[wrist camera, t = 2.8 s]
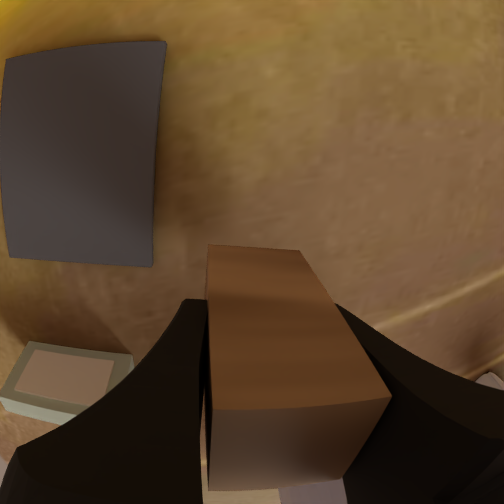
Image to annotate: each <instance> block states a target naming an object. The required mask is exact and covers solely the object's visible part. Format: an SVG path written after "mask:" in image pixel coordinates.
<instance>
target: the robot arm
mask: <svg viewBox="0 0 504 504" xmlns="http://www.w3.org/2000/svg"><path fill="white" fill-rule="evenodd" d="M334 304H335V305H336V307H337V308H338V310H339V311H340V313H341V314H342V316H343V318H344V319H345V321H346V322H347V324H348V325H349V327H350V329H351V330H352V332H353V333H354V335H355V336H356V338H357V340H358V341H359V343H360V344H361V346H362V348H363V349H364V351H365V352H366V354H367V356H368V357H369V359H370V360H371V362H372V364H373V365H374V367H375V369H376V370H377V372H378V373H379V375H380V377H381V378H382V380H383V382H384V383H385V385H386V387H387V388H388V390H389V392H390V393H391V395H392V398H391V399H390V401H389V403H388V405H387V407H386V409H385V410H384V412H383V414H382V416H381V417H380V419H379V421H378V422H377V424H376V426H375V427H374V429H373V431H372V432H371V434H370V436H369V437H368V439H367V440H366V442H365V444H364V445H363V447H362V448H361V450H360V451H359V453H358V454H357V456H356V457H355V459H354V460H353V462H352V463H351V465H350V466H349V468H348V469H347V471H346V472H345V474H344V475H343V476H342V478H341V479H339V480H333V481H327V482H321V483H315V484H308V485H301V486H293V487H284V488H278V491H279V496H280V500H281V504H504V390H500V389H497V388H493V387H489V386H486V385H482V384H479V383H476V382H473V381H470V380H468V379H465V378H463V377H460V376H457V375H455V374H452V373H450V372H448V371H445V370H443V369H441V368H439V367H437V366H435V365H433V364H431V363H429V362H427V361H425V360H423V359H421V358H419V357H418V356H416V355H414V354H412V353H411V352H409V351H407V350H406V349H404V348H402V347H401V346H399V345H397V344H396V343H394V342H393V341H391V340H390V339H388V338H387V337H385V336H384V335H382V334H381V333H379V332H378V331H376V330H375V329H373V328H372V327H371V326H369V325H368V324H366V323H365V322H363V321H362V320H361V319H359V318H358V317H356V316H355V315H353V314H352V313H350V312H349V311H347V310H346V309H344V308H343V307H341V306H339V305H338V304H336V303H334ZM207 314H208V308H207V300H201V299H185V300H184V301H182V303H181V305H180V308H179V310H178V311H177V313H176V315H175V317H174V318H173V320H172V321H171V323H170V324H169V326H168V327H167V329H166V330H165V332H164V333H163V334H162V336H161V337H160V339H159V340H158V341H157V343H156V344H155V345H154V346H153V347H152V349H151V350H150V351H149V352H148V353H147V355H146V356H145V357H144V358H143V359H142V360H141V362H140V363H139V364H138V365H137V366H136V367H135V368H134V369H133V370H132V371H131V372H130V373H129V374H128V375H127V376H126V377H125V378H124V379H123V380H122V381H121V382H120V383H118V384H117V385H116V386H115V387H114V388H113V389H111V390H110V391H109V392H108V393H107V394H106V395H104V396H103V397H102V398H101V399H99V400H98V401H97V402H95V403H94V404H93V405H91V406H90V407H88V408H87V409H85V410H84V411H83V412H81V413H80V414H78V415H77V416H75V417H74V418H72V419H71V420H69V421H68V422H66V423H64V424H63V425H61V426H59V427H58V428H56V429H54V430H52V431H50V432H48V433H46V434H44V435H42V436H40V437H38V438H36V439H34V440H32V441H30V442H28V443H26V444H24V445H21V446H19V447H17V448H16V450H15V453H14V455H13V456H12V458H11V460H10V462H9V464H8V467H7V469H6V472H5V475H4V478H3V481H2V485H1V487H0V504H203V497H202V480H201V459H200V429H201V417H202V406H203V396H204V382H205V357H206V335H207Z"/></svg>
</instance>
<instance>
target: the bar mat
mask: <svg viewBox="0 0 504 504" xmlns="http://www.w3.org/2000/svg"><path fill="white" fill-rule="evenodd" d="M166 48H167V43H166V41H139V42H117V43H103V44H92V45H83V46H75V47H67V48H60V49H54V50H48V51H42V52H37V53H32V54H27V55H22V56H18V57H13V58H9V59H6V64H5V71H4V79H3V88H2V100H1V115H0V178H1V193H2V205H3V215H4V223H5V231H6V238H7V245H8V251H9V256H10V257H12V258H24V259H37V260H50V261H63V262H77V263H91V264H106V265H121V266H137V267H152V265H153V209H154V178H155V159H156V143H157V129H158V117H159V106H160V96H161V87H162V78H163V70H164V62H165V55H166Z"/></svg>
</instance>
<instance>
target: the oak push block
mask: <svg viewBox="0 0 504 504" xmlns="http://www.w3.org/2000/svg"><path fill="white" fill-rule="evenodd" d="M205 300H207V308H208V314H207V335H206V357H205V382H204V406H205V435H206V458H207V476H208V491H242V490H261V489H274V488H284V487H293V486H301V485H308V484H315V483H321V482H327V481H333V480H339V479H341V478H342V476H343V475H344V474H345V472H346V471H347V469H348V468H349V466H350V465H351V463H352V462H353V460H354V459H355V457H356V456H357V454H358V453H359V451H360V450H361V448H362V447H363V445H364V444H365V442H366V440H367V439H368V437H369V436H370V434H371V432H372V431H373V429H374V427H375V426H376V424H377V422H378V421H379V419H380V417H381V416H382V414H383V412H384V410H385V409H386V407H387V405H388V403H389V401H390V399H391V398H392V395H391V393H390V392H389V390H388V388H387V387H386V385H385V383H384V382H383V380H382V378H381V377H380V375H379V373H378V372H377V370H376V369H375V367H374V365H373V364H372V362H371V360H370V359H369V357H368V356H367V354H366V352H365V351H364V349H363V348H362V346H361V344H360V343H359V341H358V340H357V338H356V336H355V335H354V333H353V332H352V330H351V329H350V327H349V325H348V324H347V322H346V321H345V319H344V318H343V316H342V314H341V313H340V311H339V310H338V308H337V307H336V305H335V304H334V302H333V301H332V299H331V297H330V296H329V294H328V293H327V291H326V290H325V288H324V287H323V285H322V284H321V282H320V281H319V279H318V278H317V276H316V275H315V273H314V272H313V270H312V269H311V267H310V266H309V264H308V263H307V261H306V260H305V258H304V257H303V255H302V254H301V252H300V251H299V250H284V249H269V248H254V247H238V246H223V245H208V256H207V271H206V286H205Z"/></svg>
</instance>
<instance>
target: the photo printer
mask: <svg viewBox="0 0 504 504" xmlns="http://www.w3.org/2000/svg"><path fill="white" fill-rule="evenodd" d="M475 382H476V383H479V384H482V385H486V386H489V387H493V388H497V389H500V390H504V382H503V381H502V380H501V379H500V378H499V377H498V376H496V375H495V374H494V373H492V372H489V373H487V374H483V375H482V376H481V377H479V378H478V379H477V380H476V381H475Z"/></svg>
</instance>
